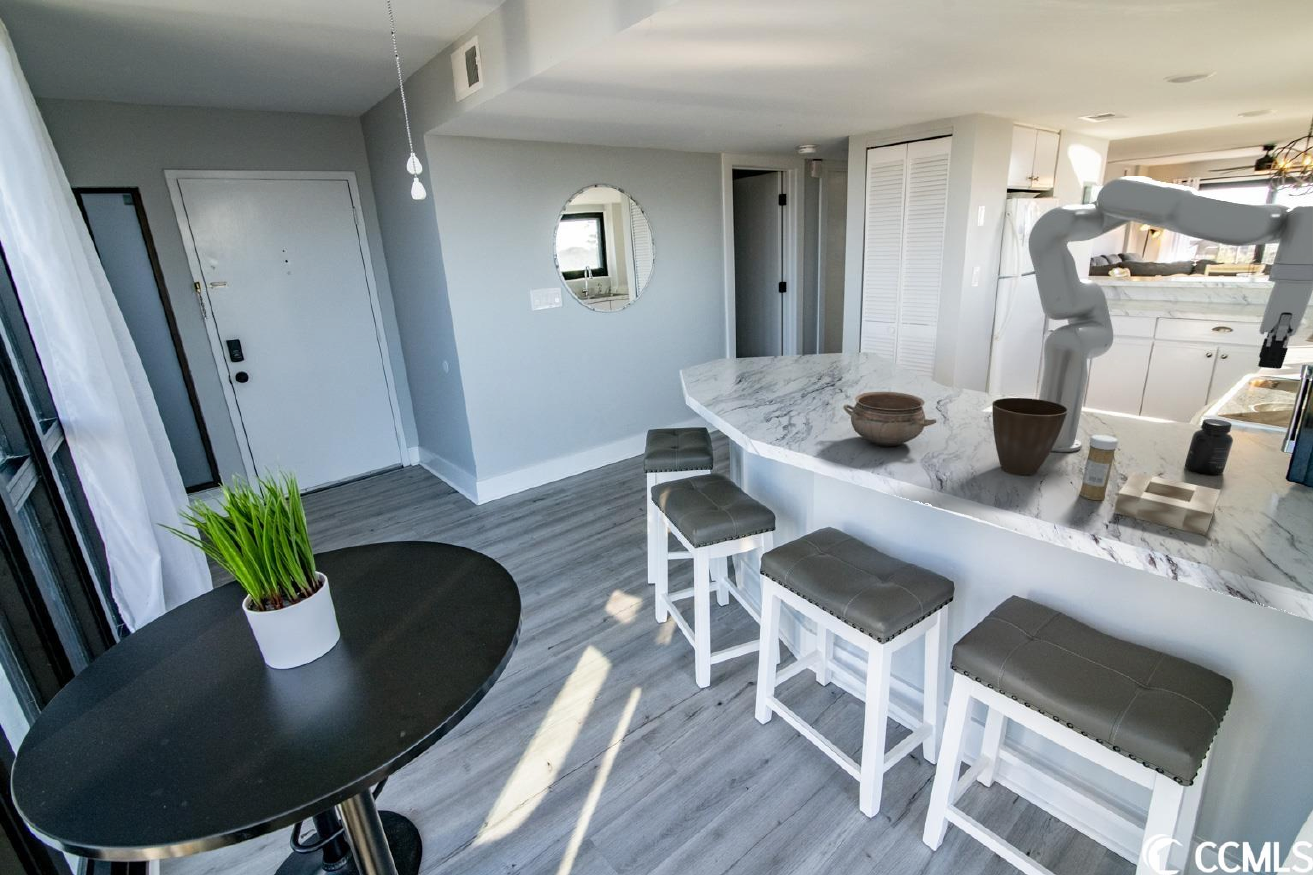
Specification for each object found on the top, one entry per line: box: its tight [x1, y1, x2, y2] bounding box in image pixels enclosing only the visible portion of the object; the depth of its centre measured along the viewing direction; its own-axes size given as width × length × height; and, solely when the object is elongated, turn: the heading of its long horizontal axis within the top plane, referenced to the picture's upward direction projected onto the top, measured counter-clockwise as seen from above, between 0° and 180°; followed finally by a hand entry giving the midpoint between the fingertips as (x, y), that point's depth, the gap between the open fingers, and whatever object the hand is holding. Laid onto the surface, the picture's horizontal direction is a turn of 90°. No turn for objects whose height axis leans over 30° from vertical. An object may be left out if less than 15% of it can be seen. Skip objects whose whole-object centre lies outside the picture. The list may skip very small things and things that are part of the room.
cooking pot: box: [843, 391, 938, 448], centre depth 161 cm, size 25×19×12 cm
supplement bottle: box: [1184, 418, 1234, 477], centre depth 136 cm, size 7×7×12 cm
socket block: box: [1113, 471, 1221, 536], centre depth 119 cm, size 14×14×4 cm
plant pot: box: [991, 397, 1068, 476], centre depth 140 cm, size 15×15×16 cm
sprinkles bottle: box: [1079, 434, 1119, 501], centre depth 125 cm, size 5×5×13 cm
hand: (1269, 363), depth 117 cm, fingers open, 9 cm apart
